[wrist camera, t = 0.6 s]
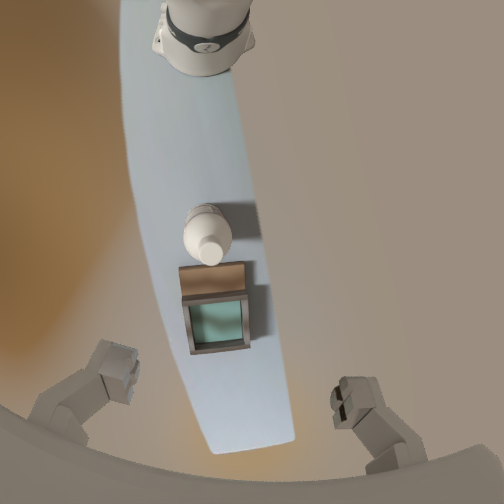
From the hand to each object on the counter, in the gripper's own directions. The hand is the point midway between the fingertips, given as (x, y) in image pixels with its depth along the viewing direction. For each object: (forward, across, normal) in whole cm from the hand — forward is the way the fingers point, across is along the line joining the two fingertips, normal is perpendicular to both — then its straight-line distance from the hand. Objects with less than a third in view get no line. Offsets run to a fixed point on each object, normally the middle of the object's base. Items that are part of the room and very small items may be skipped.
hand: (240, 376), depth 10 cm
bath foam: (+41, +6, +13) cm, 44 cm away
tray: (+38, +2, +29) cm, 48 cm away
